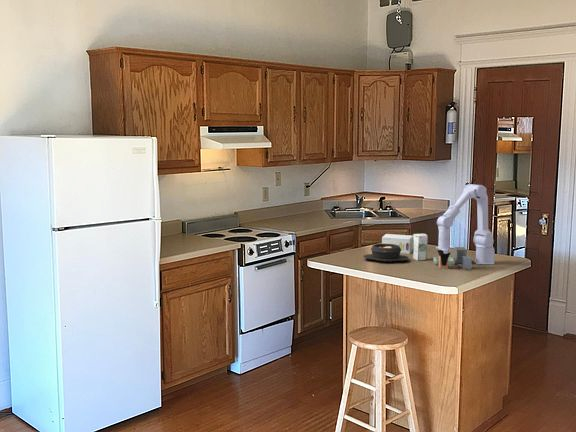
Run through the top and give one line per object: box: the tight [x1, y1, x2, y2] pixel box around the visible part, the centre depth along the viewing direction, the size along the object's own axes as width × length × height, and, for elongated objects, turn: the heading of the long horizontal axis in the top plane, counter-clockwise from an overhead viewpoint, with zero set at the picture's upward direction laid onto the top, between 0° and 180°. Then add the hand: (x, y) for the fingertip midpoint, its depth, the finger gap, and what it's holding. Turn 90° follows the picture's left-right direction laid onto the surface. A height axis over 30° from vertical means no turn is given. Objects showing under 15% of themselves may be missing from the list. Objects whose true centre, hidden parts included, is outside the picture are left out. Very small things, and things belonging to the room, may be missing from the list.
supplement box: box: [381, 233, 414, 255], centre depth 376 cm, size 17×13×9 cm
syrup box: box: [412, 233, 428, 262], centre depth 349 cm, size 6×6×14 cm
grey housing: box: [453, 246, 468, 266], centre depth 342 cm, size 7×11×8 cm, turn 174°
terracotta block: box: [438, 255, 449, 270], centre depth 329 cm, size 4×4×6 cm
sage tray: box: [432, 256, 455, 266], centre depth 341 cm, size 10×10×2 cm
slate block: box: [461, 256, 473, 270], centre depth 328 cm, size 4×4×6 cm
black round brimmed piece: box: [362, 243, 409, 263], centre depth 348 cm, size 25×19×8 cm
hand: (443, 264), depth 329 cm, fingers closed on terracotta block, 4 cm apart
